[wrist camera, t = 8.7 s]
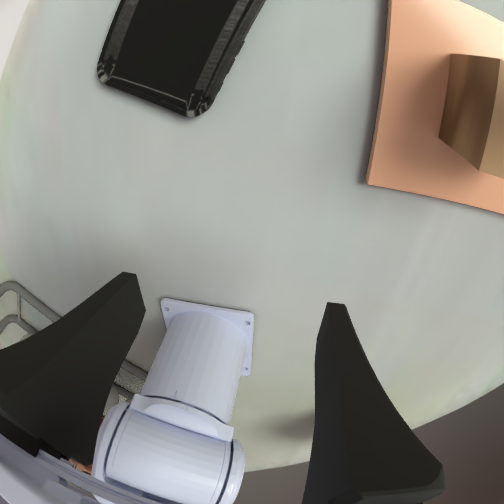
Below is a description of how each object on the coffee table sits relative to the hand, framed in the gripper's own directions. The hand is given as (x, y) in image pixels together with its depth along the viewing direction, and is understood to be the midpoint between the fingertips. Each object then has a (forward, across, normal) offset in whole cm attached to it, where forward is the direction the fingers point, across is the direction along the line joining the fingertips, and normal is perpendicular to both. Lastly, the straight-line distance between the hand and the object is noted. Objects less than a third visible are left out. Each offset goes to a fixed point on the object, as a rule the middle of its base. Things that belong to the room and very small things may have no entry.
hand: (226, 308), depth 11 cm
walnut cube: (+9, -12, -8) cm, 17 cm away
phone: (+10, +4, -13) cm, 17 cm away
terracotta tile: (+9, -12, -8) cm, 17 cm away
